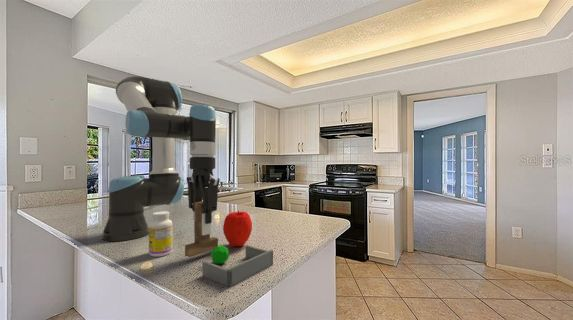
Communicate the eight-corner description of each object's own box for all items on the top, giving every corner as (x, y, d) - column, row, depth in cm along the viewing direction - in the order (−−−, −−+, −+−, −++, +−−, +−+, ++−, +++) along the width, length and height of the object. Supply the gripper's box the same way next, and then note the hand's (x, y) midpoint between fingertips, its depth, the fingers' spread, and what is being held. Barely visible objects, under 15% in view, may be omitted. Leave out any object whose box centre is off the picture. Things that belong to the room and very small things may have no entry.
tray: (202, 275, 64) (202, 259, 64) (247, 256, 77) (247, 243, 77) (229, 287, 58) (229, 269, 58) (272, 264, 71) (273, 250, 71)
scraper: (184, 255, 73) (184, 203, 74) (212, 246, 82) (212, 199, 82) (190, 257, 72) (190, 204, 72) (218, 248, 80) (218, 200, 80)
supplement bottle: (150, 251, 81) (150, 211, 81) (172, 248, 83) (173, 210, 84) (147, 258, 75) (147, 215, 75) (171, 255, 77) (172, 213, 77)
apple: (236, 253, 80) (236, 214, 80) (216, 246, 86) (216, 210, 86) (257, 244, 88) (258, 209, 88) (238, 239, 94) (238, 206, 94)
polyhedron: (210, 261, 73) (210, 244, 73) (227, 258, 75) (227, 242, 75) (212, 267, 69) (212, 250, 69) (230, 264, 70) (230, 247, 71)
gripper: (176, 156, 79) (175, 231, 78) (209, 155, 69) (208, 241, 69) (197, 157, 85) (196, 226, 84) (230, 156, 75) (229, 234, 75)
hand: (202, 233), depth 77 cm, fingers closed on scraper, 3 cm apart
